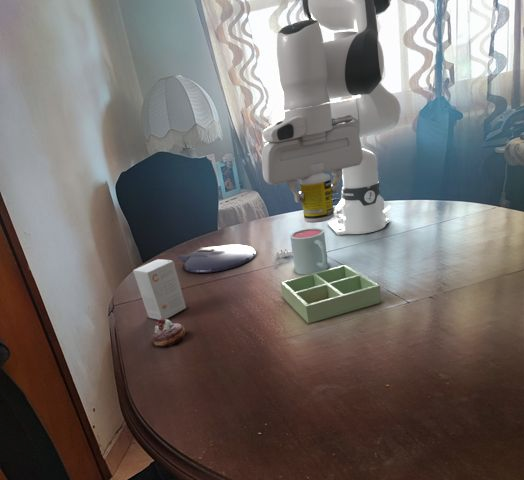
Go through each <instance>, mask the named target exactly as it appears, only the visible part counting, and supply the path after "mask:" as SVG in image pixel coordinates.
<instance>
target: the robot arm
mask: <svg viewBox="0 0 524 480" xmlns="http://www.w3.org/2000/svg"><path fill="white" fill-rule="evenodd" d="M391 2H392V0H301V7H302V11H303V15H304V18H305V19H304V20H300V21H296V22H294V23H292V24H288V25H285V26H284V27H282V28H281V29H280V30H279V31H278V32H277V37H276V57H277V58H276V63H277V72H278V81H279V86H280V89H281V91H282V95H283V106H282V111H283V118H281V119H280V120H278V121H277V122H275V123H273V124H271V125H269V126H267V128H265V129H263V131H262V132H261V136H262V140H263V141H264V142H266V143H265V144H264V145H263V146H262V150H261V170H262V176H263V177H262V178H263V180H264V181H265V182H266V183H267V184H268V185H271V186H274V185H279V184H283V183H286V185H287V188H289V190H290V191H291V192H292V193H293V197H294V202H295V203H297V204H300V203H302V202H304V198H303V197H304V193H303V192H301V191H299V190H298V189H297V188H296V187H297V186H298V180H300V179H301V178H305V177H309V176H312V175H313V173H311V170H310V166H311V165H316V164H320V163H324V170H323V173H330V172H331V175H332V176H333V179H332V180H331V189H332V196H333V195H338V194H339V193H340V191H339V190H340V189H341V196H340V198H341V199H340V198H339V197H335V198H332V200H333V203H334V202H335V201H338V203H337V205H336V206H333V210H334V216H333V218H332V220H331V221H329V222H328V226H329V227H330V229H332V231H333V232H335V233H336V234H337V235H338V236H339V235H340V236H342V235H363V234H364V235H365V234H370V233H373V232H377V231H380V230H383V229H384V228H386V226H387V224H388V223H390V218H387V217H386V216H387V215H386V212H387V211H389V210H390V209H391V206H390V205H388V206H387V207H386V206H385V199H384V197H383V196H381V195H380V194H381V183H380V181H379V169H378V158H377V155H376V154H375V153H373V152H372V151H370V150H368V149H366V148H362V143H361V138H365V137H370V136H375V135H381V134H383V133H385V132H388V131H390V130H393V129H395V127H396V126H397V124H398V122H399V120H400V117H401V104H400V102H399V100H398V97H396V95H395V94H394V93H392V92H390V91H389V90H388V89H387V88H385V86H384V85H383V84H382V80H383V76H384V72H385V57H384V51H383V50H384V49H383V47H382V44H381V42H380V39H379V29H378V20H377V19H378V18H379V16H380V15H382V14H383V13H385V12H386V11H387V10H388V9H389V8H390V6H391ZM322 30H324V31H325V32H328V33H329V32H330V33H332V40H328V41H325V42H324V39H323V38H324V37H323V33H322V32H323V31H322ZM349 96H355V97H352V98H347V99H342V100H341V99H340V100H336V101H332V102H331V99H332V100H333V99H337V98H343V97H349ZM341 180H342V187H340V189H339V184H340V182H341Z"/></svg>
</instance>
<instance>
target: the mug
mask: <svg viewBox="0 0 524 480" xmlns="http://www.w3.org/2000/svg"><path fill="white" fill-rule="evenodd" d="M325 235H326V234H325V229H323V228H320V227H310V228H303V229H300V230H297V231H294V232H292V233H291V234H289V239H290V245H291V251H292V253H293V256H292V260H293V267H294V272H295V274H298V275H309V274H313V273H317V272H320V271H324V270H328V269H329V268H328V267H329V264H328V252H327V244H326V236H325Z"/></svg>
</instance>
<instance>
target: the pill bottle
mask: <svg viewBox="0 0 524 480" xmlns="http://www.w3.org/2000/svg"><path fill="white" fill-rule="evenodd" d="M310 170H311V173H313V175H312V176H309V177H305V178H301V179H299V187H300V192H303V193H304V197H303V198H304V202H301V203H302V213H303V220H304V221H305V222H306V223H310V224H315V223H323V222H327V221H329V220H331V219H334V218H333V216H334V210H333V208H334V202H333V195H332V189H331V184H332V180H331V175H330V174H329V172H327V173H323V170H324V163H320V164H316V165H311V166H310Z"/></svg>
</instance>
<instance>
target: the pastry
mask: <svg viewBox="0 0 524 480" xmlns="http://www.w3.org/2000/svg"><path fill="white" fill-rule="evenodd" d="M185 335H186V330H185V326H183V325H182V324H180V323H172V321H171V320H170V319H165V318H164V317H162V318H161V319H160V320H157V322H156V323H155V326H154V334H153V335H152V341H153V345H154V346H156V347H170V346H173V345H175V344H177V343H179V342H180V341H182V340H183V338H184V336H185Z"/></svg>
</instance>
